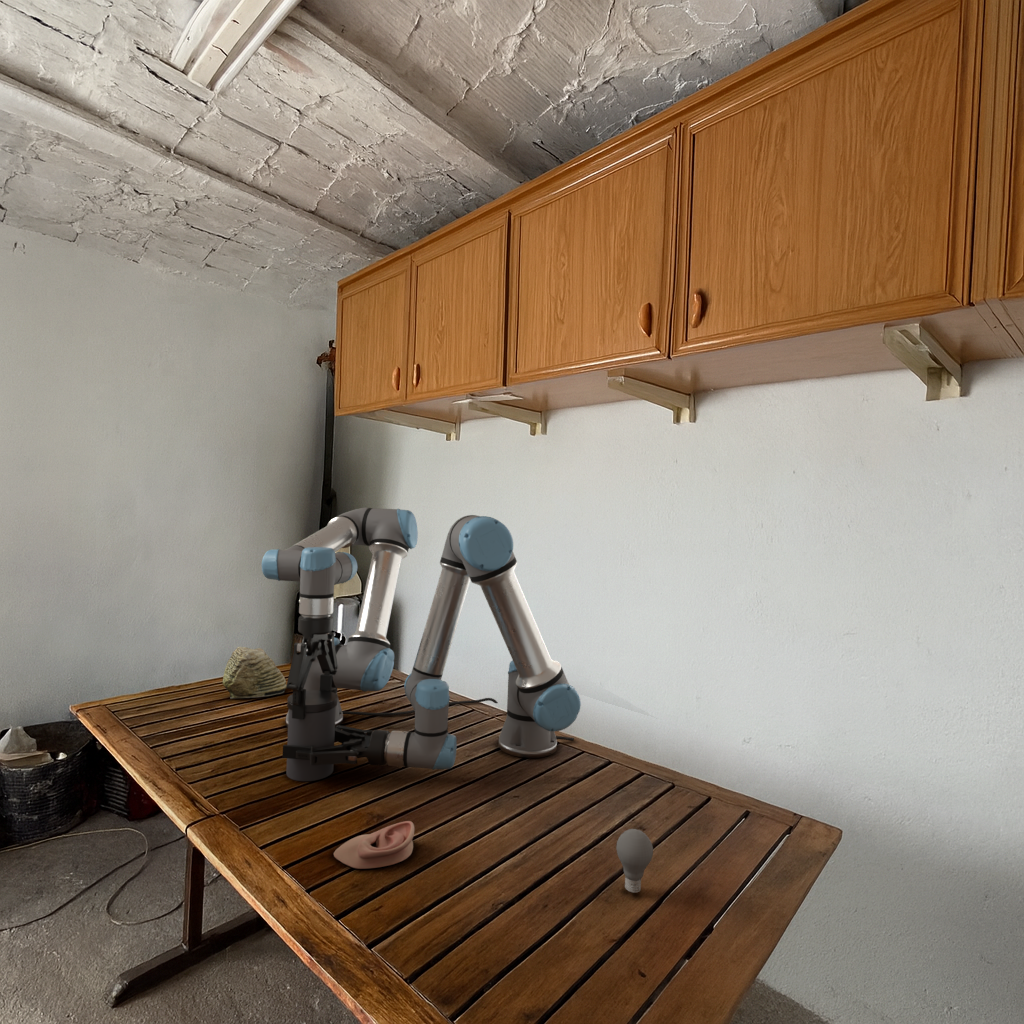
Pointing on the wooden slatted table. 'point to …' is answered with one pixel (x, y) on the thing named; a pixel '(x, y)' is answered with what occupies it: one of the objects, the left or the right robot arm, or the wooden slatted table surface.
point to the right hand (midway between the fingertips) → (293, 741)
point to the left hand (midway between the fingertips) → (312, 710)
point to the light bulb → (634, 857)
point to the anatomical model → (378, 847)
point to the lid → (317, 701)
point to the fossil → (252, 674)
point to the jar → (310, 743)
